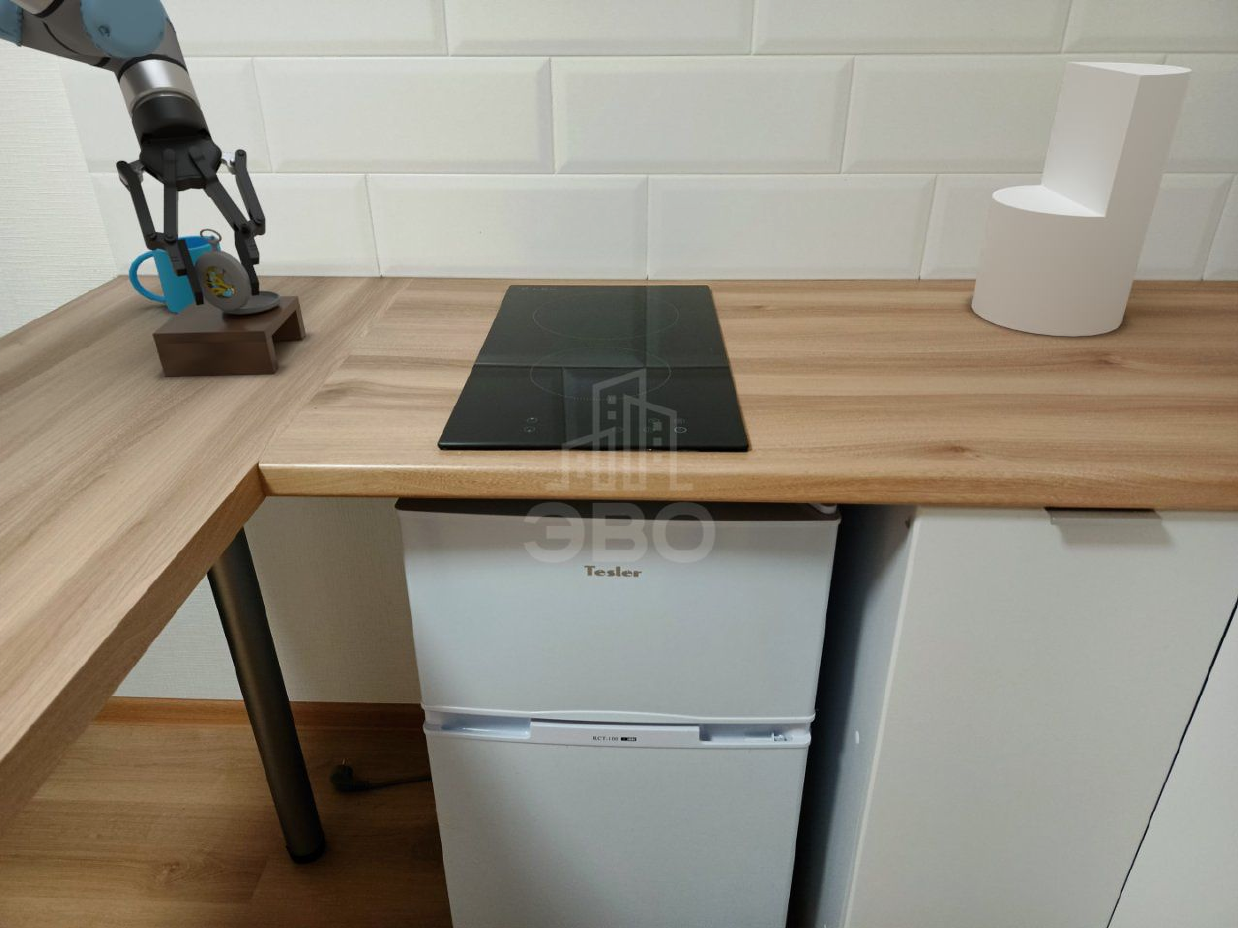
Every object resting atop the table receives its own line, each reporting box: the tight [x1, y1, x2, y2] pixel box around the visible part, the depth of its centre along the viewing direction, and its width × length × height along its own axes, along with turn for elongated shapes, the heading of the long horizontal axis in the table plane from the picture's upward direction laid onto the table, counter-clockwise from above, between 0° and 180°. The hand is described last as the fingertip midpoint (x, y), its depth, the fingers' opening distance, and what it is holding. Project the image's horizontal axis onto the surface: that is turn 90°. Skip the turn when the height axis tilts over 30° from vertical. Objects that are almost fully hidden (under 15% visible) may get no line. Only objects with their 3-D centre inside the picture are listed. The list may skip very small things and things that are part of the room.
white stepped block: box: [970, 61, 1193, 337], centre depth 101 cm, size 17×17×28 cm
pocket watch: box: [194, 228, 281, 314], centre depth 95 cm, size 8×8×10 cm
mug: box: [128, 235, 231, 314], centre depth 114 cm, size 12×8×8 cm
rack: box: [152, 295, 307, 377], centre depth 99 cm, size 12×12×5 cm
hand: (227, 293), depth 93 cm, fingers open, 5 cm apart
